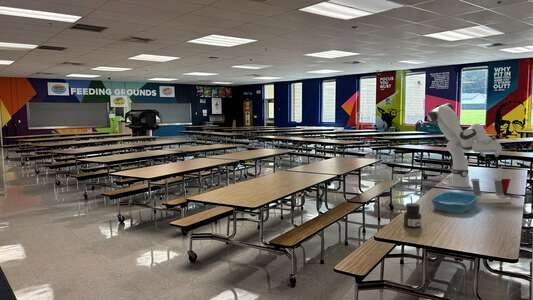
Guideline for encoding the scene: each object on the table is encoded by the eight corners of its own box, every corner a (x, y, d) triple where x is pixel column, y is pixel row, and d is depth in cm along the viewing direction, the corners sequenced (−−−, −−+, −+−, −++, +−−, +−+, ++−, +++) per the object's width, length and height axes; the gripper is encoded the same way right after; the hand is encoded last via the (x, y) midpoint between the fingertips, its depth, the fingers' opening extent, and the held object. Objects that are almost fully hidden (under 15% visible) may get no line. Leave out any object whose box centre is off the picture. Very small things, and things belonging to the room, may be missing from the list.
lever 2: (496, 195, 263) (493, 179, 266) (502, 195, 264) (499, 178, 266) (498, 195, 261) (495, 178, 264) (504, 195, 261) (501, 178, 264)
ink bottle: (409, 229, 201) (410, 207, 199) (399, 224, 209) (400, 203, 208) (425, 227, 203) (426, 205, 202) (414, 223, 212) (415, 202, 211)
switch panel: (467, 198, 269) (467, 193, 269) (497, 197, 270) (497, 193, 270) (478, 203, 256) (479, 198, 255) (510, 202, 256) (510, 197, 256)
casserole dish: (464, 217, 223) (465, 205, 223) (426, 210, 239) (426, 199, 238) (481, 205, 250) (482, 194, 249) (446, 200, 265) (446, 190, 265)
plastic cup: (505, 191, 291) (506, 175, 290) (513, 194, 281) (514, 178, 280) (491, 191, 293) (491, 175, 291) (498, 194, 282) (498, 178, 281)
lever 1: (473, 196, 263) (471, 179, 266) (479, 196, 263) (477, 179, 266) (475, 195, 261) (472, 178, 264) (481, 195, 261) (479, 178, 264)
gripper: (471, 138, 278) (478, 153, 269) (498, 138, 279) (506, 153, 270) (467, 144, 283) (474, 159, 274) (494, 144, 284) (502, 158, 275)
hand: (490, 156), depth 272 cm, fingers open, 8 cm apart
